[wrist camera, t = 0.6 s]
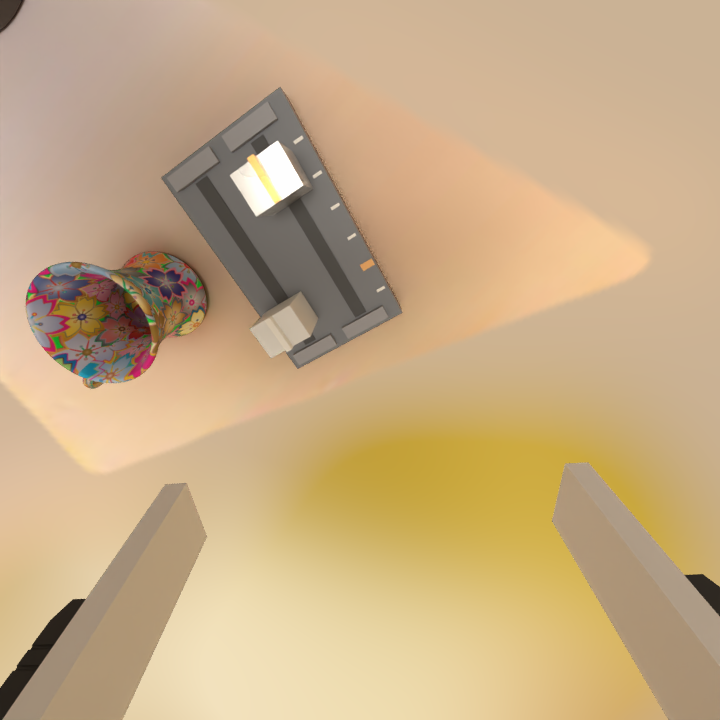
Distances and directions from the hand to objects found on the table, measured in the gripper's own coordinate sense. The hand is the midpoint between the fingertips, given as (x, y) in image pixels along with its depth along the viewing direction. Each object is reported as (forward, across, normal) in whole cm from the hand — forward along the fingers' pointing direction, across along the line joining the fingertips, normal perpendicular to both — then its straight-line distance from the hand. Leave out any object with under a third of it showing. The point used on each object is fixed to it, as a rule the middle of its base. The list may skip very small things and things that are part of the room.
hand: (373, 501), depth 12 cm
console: (+25, -6, +6) cm, 27 cm away
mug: (+25, -21, +1) cm, 33 cm away
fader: (+22, -6, +11) cm, 26 cm away
